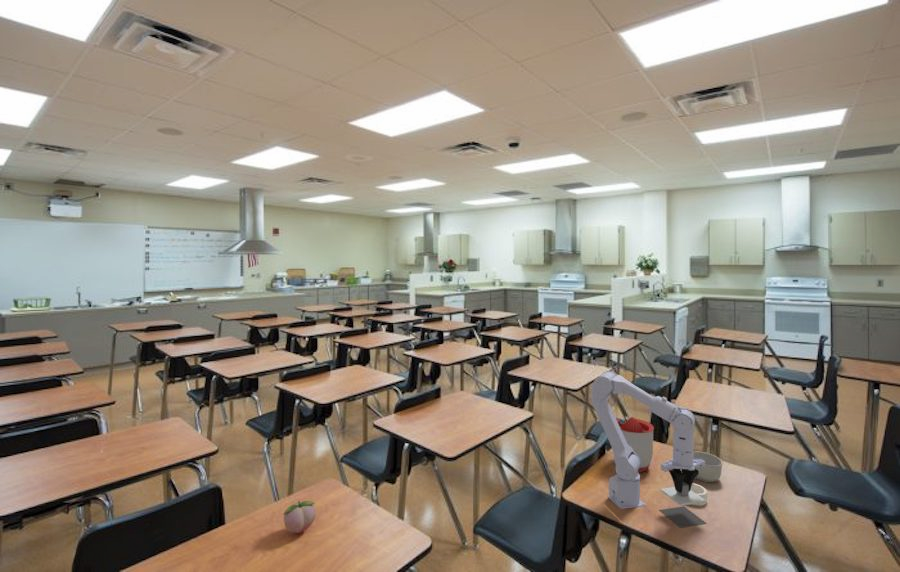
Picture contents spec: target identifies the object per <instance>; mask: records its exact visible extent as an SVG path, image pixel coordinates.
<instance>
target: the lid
mask: <svg viewBox="0 0 900 572" xmlns="http://www.w3.org/2000/svg"><path fill="white" fill-rule="evenodd" d="M659 490H660V492H662V494H664V495H665V496H667V497H668V498H670V499H671V500H672V501H674V502H675V503H676V504H677V505H679V507H683V506H689V505H691V504H697V503H704V502H706V500H705V499H703V498H702V497H700V496H699V495H697V494H696V493H694V492H693V491H691V490H690V492H689V485H688V484H686V483H685V482H683V489H682V493H679V492H678V491H676V490H675V486H671V487H664V488H660V489H659Z"/></svg>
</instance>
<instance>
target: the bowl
mask: <svg viewBox="0 0 900 572" xmlns="http://www.w3.org/2000/svg"><path fill="white" fill-rule="evenodd" d="M690 490H691V491H693V492H694V493H696V494H697V495H699V496H700V497H702V498H703V499H705V500H706V502H704V503H697V504H690V505H692V506H699V507H700V506H701V507H702V506H705V505H706V504H708V491H707V489H706V488H705V487H704V486H702V485H700V484H697V483H694V482H693V484H692V486H691V489H690Z"/></svg>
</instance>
